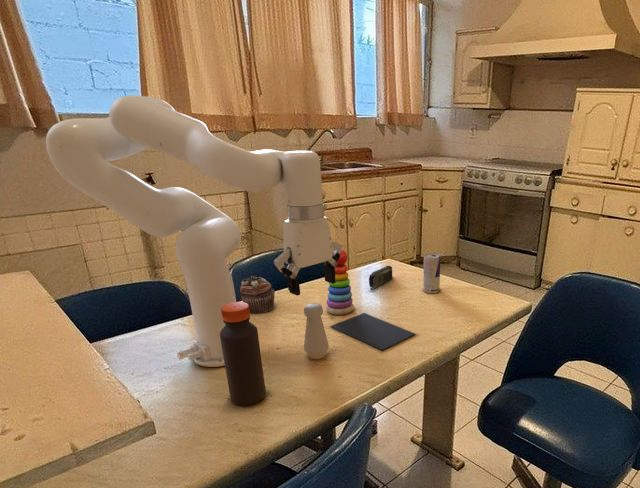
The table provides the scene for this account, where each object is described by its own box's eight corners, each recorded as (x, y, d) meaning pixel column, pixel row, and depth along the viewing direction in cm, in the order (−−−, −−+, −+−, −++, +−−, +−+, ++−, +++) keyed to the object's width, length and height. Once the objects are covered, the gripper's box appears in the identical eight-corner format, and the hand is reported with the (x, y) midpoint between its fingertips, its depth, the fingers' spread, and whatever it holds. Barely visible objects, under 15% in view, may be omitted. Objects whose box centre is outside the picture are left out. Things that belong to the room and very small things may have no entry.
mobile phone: (386, 264, 161) (365, 275, 148) (393, 265, 160) (373, 276, 147) (386, 277, 163) (365, 289, 150) (393, 278, 161) (373, 291, 148)
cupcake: (267, 315, 130) (263, 282, 126) (236, 313, 131) (231, 280, 128) (282, 303, 139) (278, 272, 135) (253, 300, 140) (248, 270, 136)
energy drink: (442, 289, 151) (443, 255, 146) (434, 294, 147) (435, 259, 142) (428, 286, 154) (429, 252, 149) (420, 291, 149) (420, 256, 145)
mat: (382, 351, 111) (382, 349, 111) (330, 327, 123) (330, 325, 123) (415, 335, 120) (415, 333, 119) (363, 314, 132) (363, 312, 132)
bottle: (225, 396, 93) (209, 306, 85) (256, 384, 97) (244, 297, 89) (239, 411, 88) (224, 317, 81) (272, 397, 92) (260, 307, 85)
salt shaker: (304, 351, 111) (299, 301, 106) (327, 348, 112) (324, 299, 107) (305, 362, 106) (301, 311, 101) (330, 359, 107) (327, 308, 102)
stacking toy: (351, 316, 130) (348, 253, 123) (324, 315, 130) (319, 252, 123) (355, 305, 138) (353, 245, 131) (329, 305, 138) (325, 245, 131)
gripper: (327, 204, 104) (333, 275, 111) (259, 216, 92) (270, 294, 99) (348, 208, 100) (353, 281, 106) (280, 221, 88) (289, 303, 94)
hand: (313, 287), depth 103 cm, fingers open, 9 cm apart
